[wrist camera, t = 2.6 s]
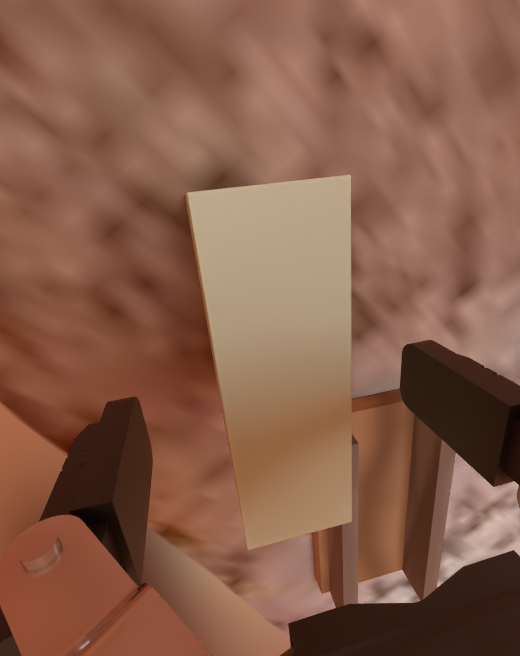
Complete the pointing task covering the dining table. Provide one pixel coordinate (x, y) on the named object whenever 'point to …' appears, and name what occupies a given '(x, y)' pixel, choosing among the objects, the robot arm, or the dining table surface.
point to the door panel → (281, 347)
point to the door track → (388, 502)
